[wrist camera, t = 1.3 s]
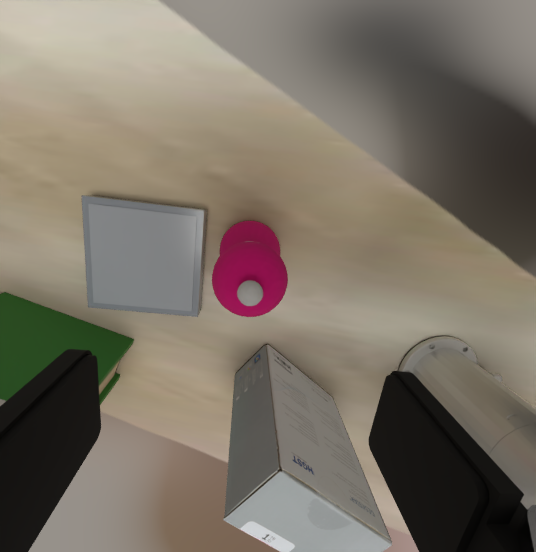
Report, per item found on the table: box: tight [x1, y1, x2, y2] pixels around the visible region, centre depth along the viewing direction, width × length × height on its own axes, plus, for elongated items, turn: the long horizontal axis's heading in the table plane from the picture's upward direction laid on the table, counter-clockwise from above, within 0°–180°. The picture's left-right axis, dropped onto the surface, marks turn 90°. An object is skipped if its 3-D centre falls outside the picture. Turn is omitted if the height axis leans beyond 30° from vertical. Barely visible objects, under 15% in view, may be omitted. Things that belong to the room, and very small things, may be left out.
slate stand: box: [82, 195, 207, 317], centre depth 35 cm, size 14×14×3 cm
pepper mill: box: [212, 221, 288, 317], centre depth 28 cm, size 7×7×20 cm
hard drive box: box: [223, 344, 392, 552], centre depth 34 cm, size 16×8×20 cm, turn 46°
